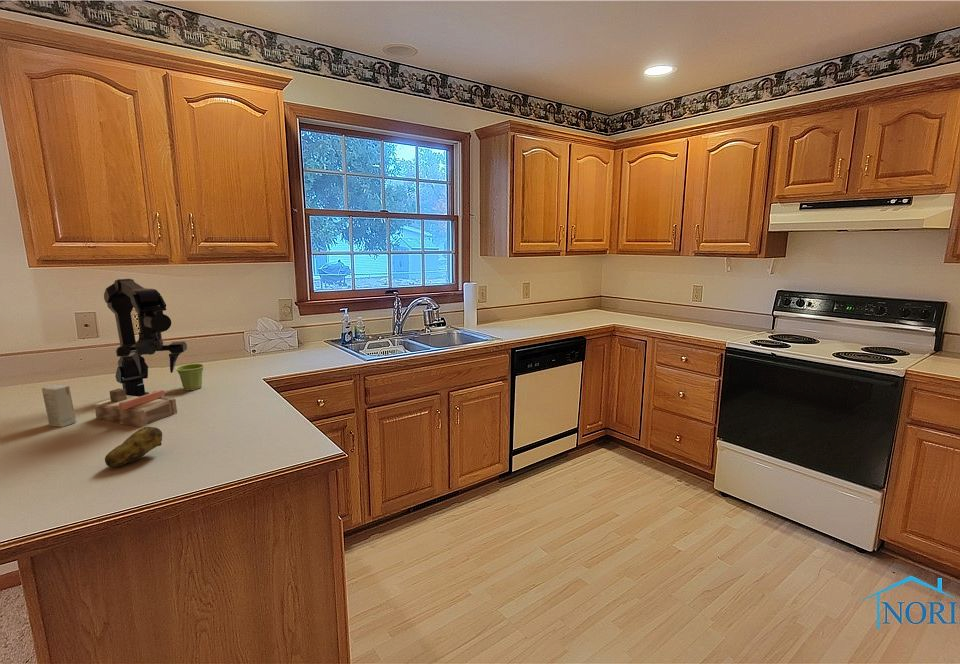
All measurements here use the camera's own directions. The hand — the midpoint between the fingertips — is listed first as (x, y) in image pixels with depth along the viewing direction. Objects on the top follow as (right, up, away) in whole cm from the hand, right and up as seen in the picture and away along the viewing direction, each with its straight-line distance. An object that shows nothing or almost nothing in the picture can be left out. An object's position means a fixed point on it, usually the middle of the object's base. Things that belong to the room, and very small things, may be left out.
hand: (155, 373), depth 159 cm
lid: (-4, -10, -4) cm, 12 cm away
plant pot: (-4, -8, +26) cm, 28 cm away
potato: (+18, -20, -34) cm, 43 cm away
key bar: (0, -9, -6) cm, 10 cm away
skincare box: (-23, -15, -10) cm, 29 cm away
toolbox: (-4, -14, -3) cm, 15 cm away
